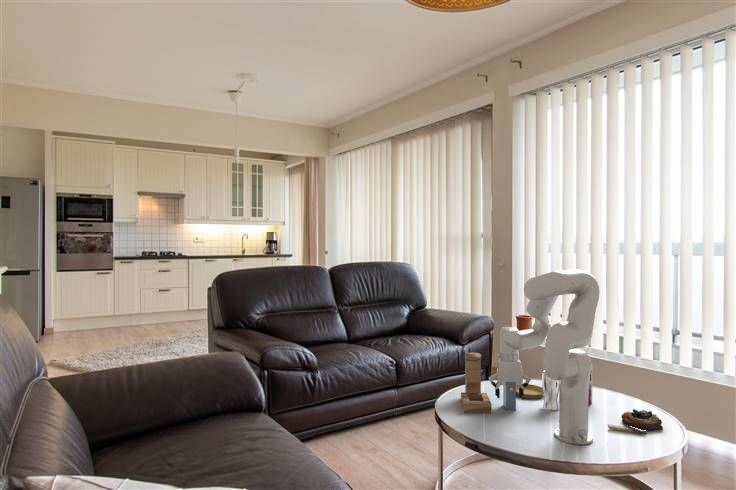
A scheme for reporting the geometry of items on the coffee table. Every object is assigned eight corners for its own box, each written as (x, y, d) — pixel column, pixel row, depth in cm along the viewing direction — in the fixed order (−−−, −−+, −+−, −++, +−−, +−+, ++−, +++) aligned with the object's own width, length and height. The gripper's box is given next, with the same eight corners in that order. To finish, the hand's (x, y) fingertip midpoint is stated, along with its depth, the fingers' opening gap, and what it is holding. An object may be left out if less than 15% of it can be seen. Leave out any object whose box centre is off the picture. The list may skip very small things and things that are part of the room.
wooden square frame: (491, 413, 189) (491, 364, 188) (464, 412, 190) (463, 364, 189) (484, 396, 208) (484, 352, 208) (459, 396, 209) (459, 352, 209)
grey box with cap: (516, 411, 191) (516, 382, 190) (506, 411, 191) (506, 382, 191) (512, 405, 197) (512, 377, 197) (503, 405, 198) (503, 377, 198)
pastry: (667, 430, 172) (667, 415, 172) (638, 433, 170) (638, 417, 169) (644, 419, 183) (644, 404, 182) (617, 421, 180) (617, 406, 180)
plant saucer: (538, 388, 219) (538, 383, 219) (551, 400, 204) (551, 394, 204) (507, 389, 219) (507, 384, 218) (518, 400, 204) (518, 394, 204)
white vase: (556, 405, 197) (556, 370, 197) (561, 411, 190) (561, 375, 190) (539, 404, 198) (539, 370, 197) (544, 411, 191) (544, 375, 191)
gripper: (489, 358, 191) (489, 400, 192) (533, 359, 190) (532, 401, 190) (486, 354, 199) (486, 394, 199) (528, 354, 197) (528, 395, 198)
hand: (509, 397), depth 195 cm, fingers open, 8 cm apart
